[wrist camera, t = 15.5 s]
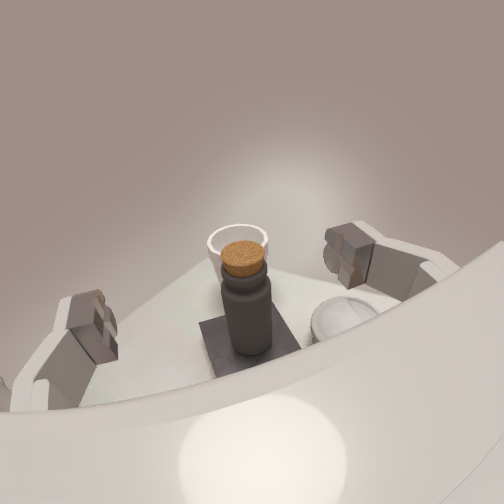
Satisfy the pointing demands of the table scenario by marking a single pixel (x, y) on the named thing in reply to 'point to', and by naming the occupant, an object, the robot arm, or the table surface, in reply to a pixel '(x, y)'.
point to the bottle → (246, 297)
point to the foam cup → (232, 235)
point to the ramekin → (339, 316)
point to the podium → (233, 361)
